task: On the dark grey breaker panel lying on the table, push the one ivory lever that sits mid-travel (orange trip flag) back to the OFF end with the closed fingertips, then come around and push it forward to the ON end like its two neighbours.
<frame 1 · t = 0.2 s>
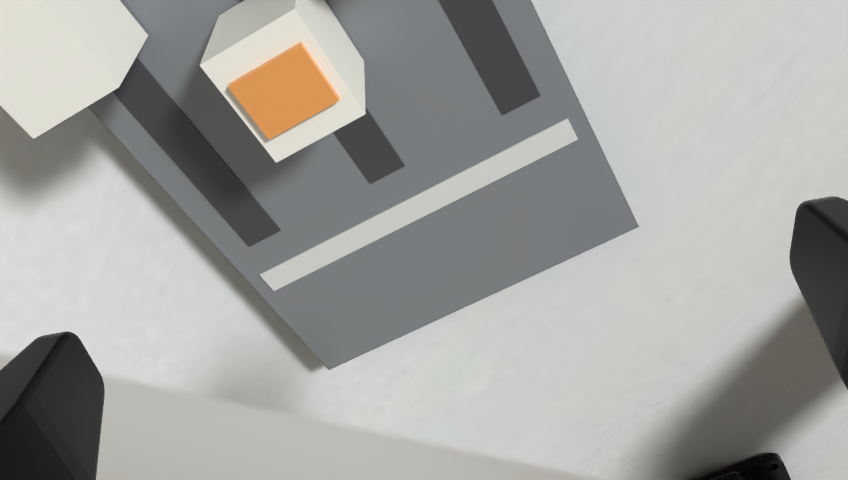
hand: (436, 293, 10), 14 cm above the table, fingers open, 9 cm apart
tripped lever: (289, 64, 20), point 3 cm above the table, slide at 3.5 cm
panel: (296, 21, 22), on the table
lever c: (49, 34, 19), point 3 cm above the table, slide at 7.0 cm
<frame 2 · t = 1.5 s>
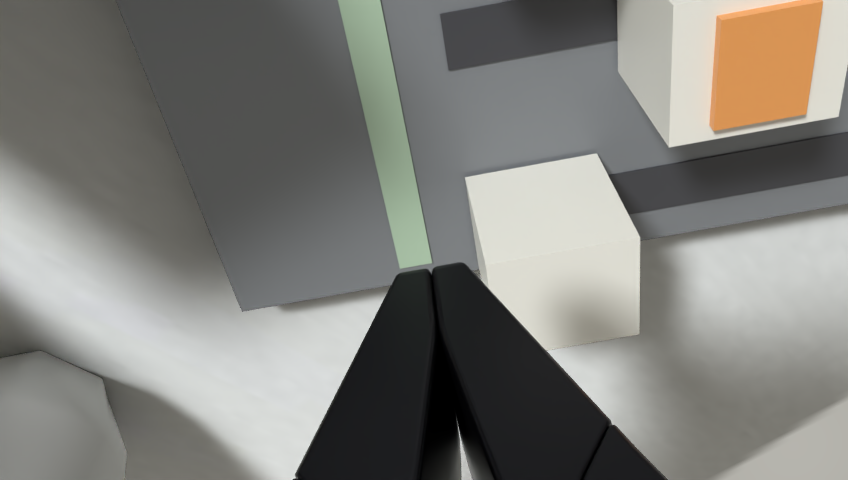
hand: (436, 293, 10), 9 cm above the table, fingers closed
salt shaker: (41, 397, 23), on the table
tripped lever: (725, 30, 14), point 3 cm above the table, slide at 3.5 cm
lever c: (549, 253, 17), point 3 cm above the table, slide at 7.0 cm
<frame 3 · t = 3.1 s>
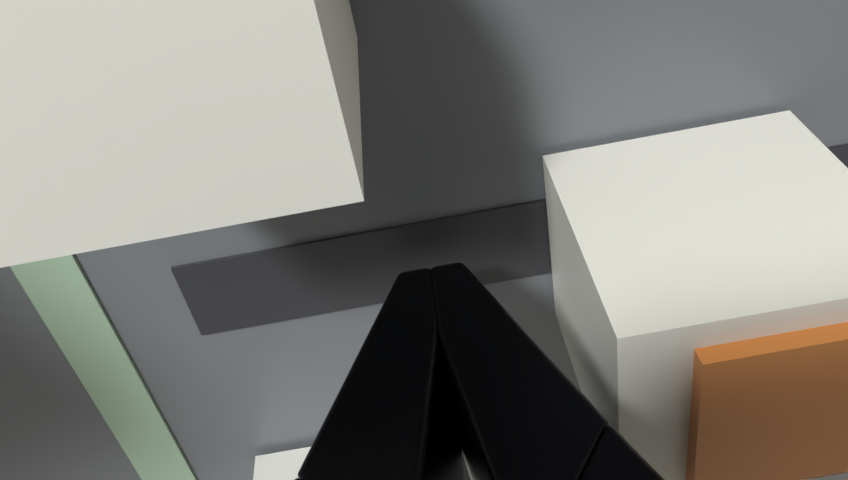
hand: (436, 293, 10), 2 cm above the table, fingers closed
tripped lever: (712, 305, 9), point 3 cm above the table, slide at 2.1 cm, touching gripper
panel: (538, 185, 11), on the table
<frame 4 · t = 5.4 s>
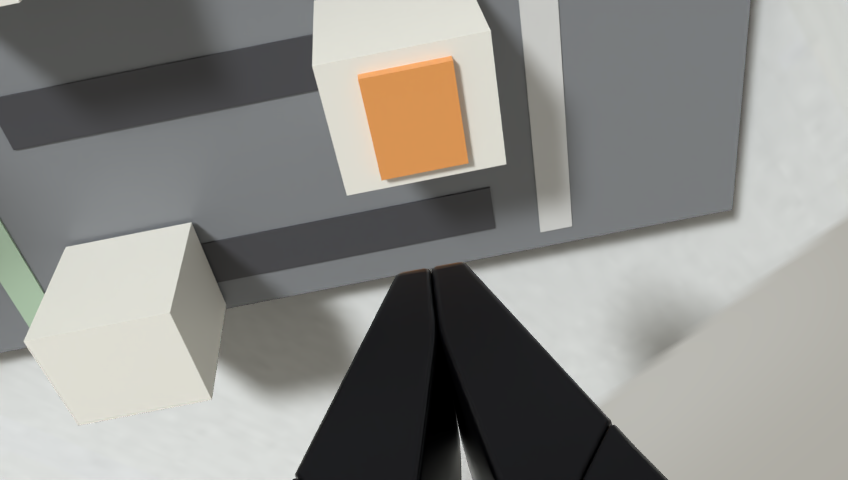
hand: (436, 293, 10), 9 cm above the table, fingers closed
tripped lever: (407, 81, 15), point 3 cm above the table, slide at 0.0 cm
panel: (238, 55, 17), on the table
lever c: (136, 321, 18), point 3 cm above the table, slide at 7.0 cm
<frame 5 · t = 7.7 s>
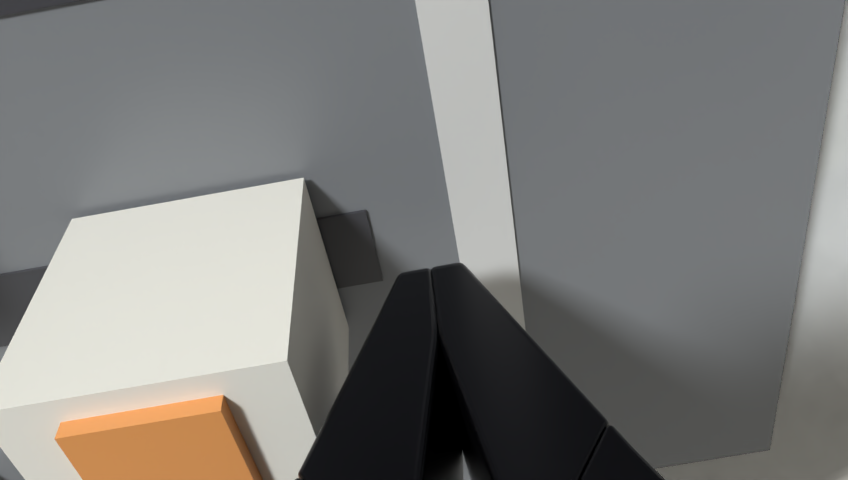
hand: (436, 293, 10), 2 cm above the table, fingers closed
tripped lever: (200, 367, 9), point 3 cm above the table, slide at 0.7 cm, touching gripper
panel: (46, 254, 12), on the table
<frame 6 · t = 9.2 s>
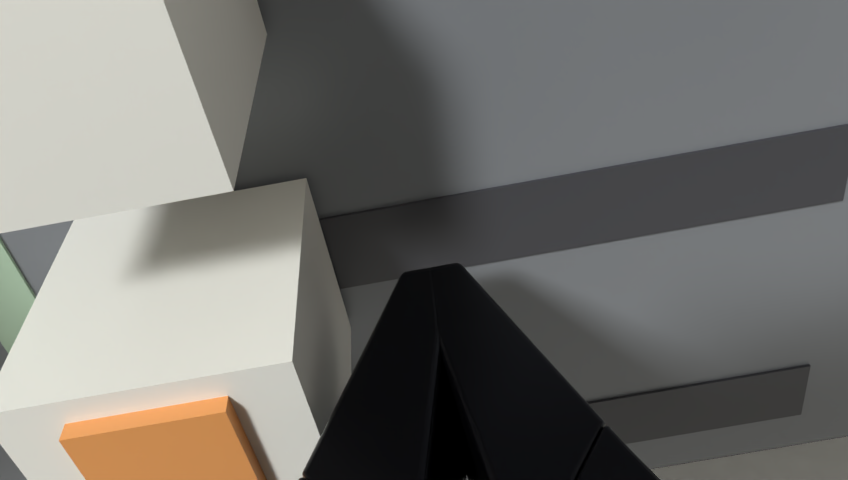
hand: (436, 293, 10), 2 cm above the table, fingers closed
tripped lever: (203, 368, 9), point 3 cm above the table, slide at 7.0 cm, touching gripper
panel: (467, 180, 12), on the table
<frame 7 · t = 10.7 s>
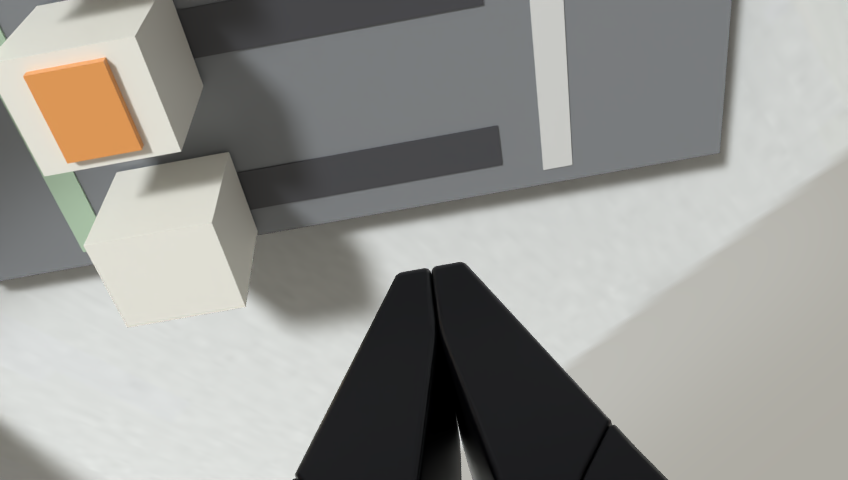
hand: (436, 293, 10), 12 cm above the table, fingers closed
tripped lever: (105, 78, 17), point 3 cm above the table, slide at 7.0 cm
panel: (274, 0, 19), on the table
lever c: (179, 237, 20), point 3 cm above the table, slide at 7.0 cm
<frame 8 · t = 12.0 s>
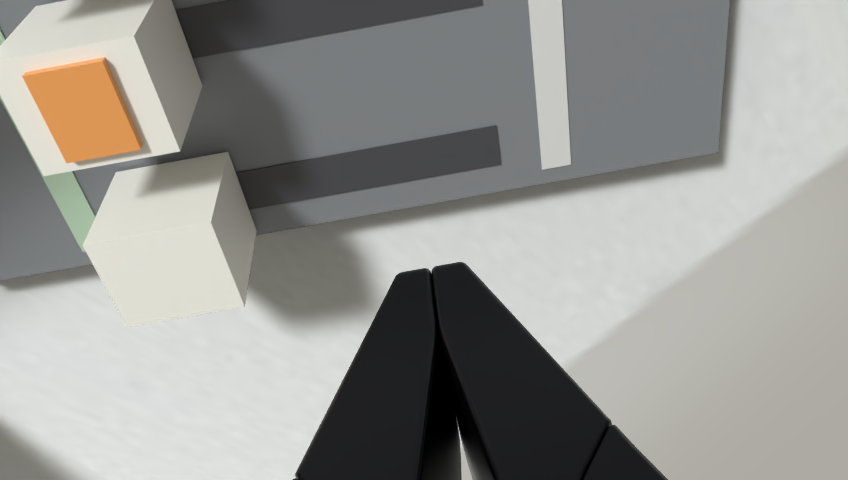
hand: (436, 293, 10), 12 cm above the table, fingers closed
tripped lever: (104, 78, 17), point 3 cm above the table, slide at 7.0 cm
panel: (273, 0, 19), on the table
lever c: (178, 237, 20), point 3 cm above the table, slide at 7.0 cm
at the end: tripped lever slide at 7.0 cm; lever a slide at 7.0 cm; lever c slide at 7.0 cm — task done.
